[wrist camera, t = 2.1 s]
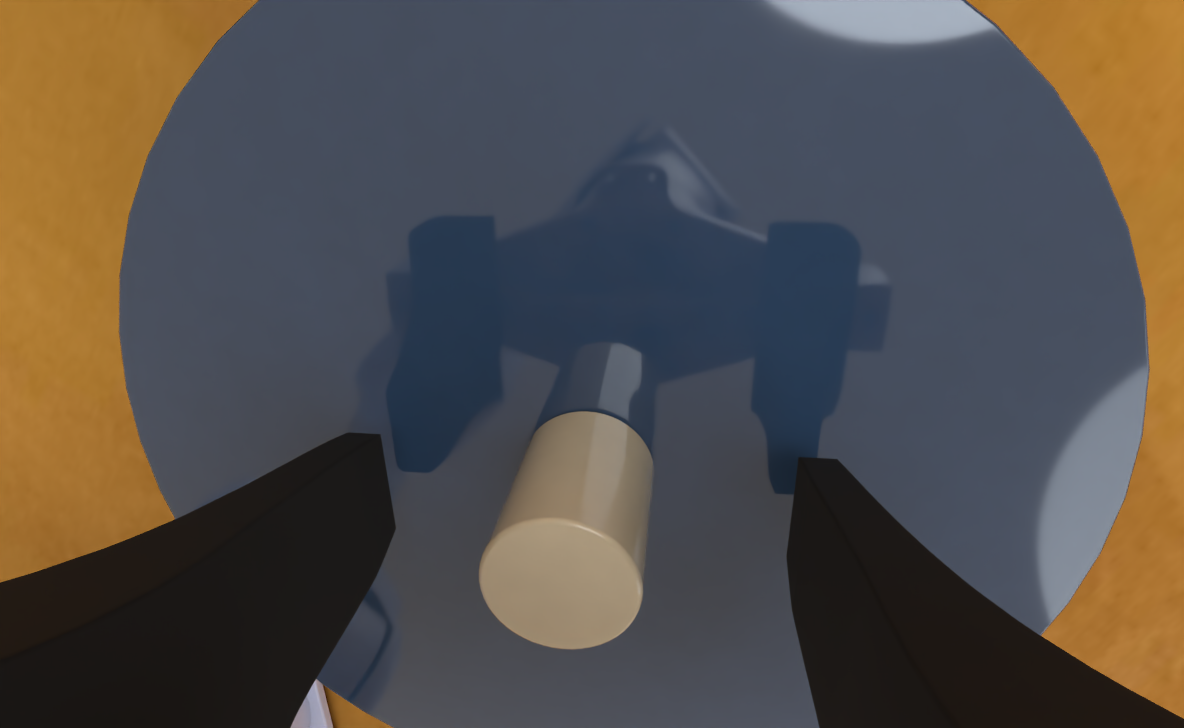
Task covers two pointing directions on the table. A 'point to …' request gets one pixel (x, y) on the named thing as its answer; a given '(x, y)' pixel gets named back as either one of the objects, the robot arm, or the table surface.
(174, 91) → the table surface
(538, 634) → the lid
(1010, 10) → the table surface
